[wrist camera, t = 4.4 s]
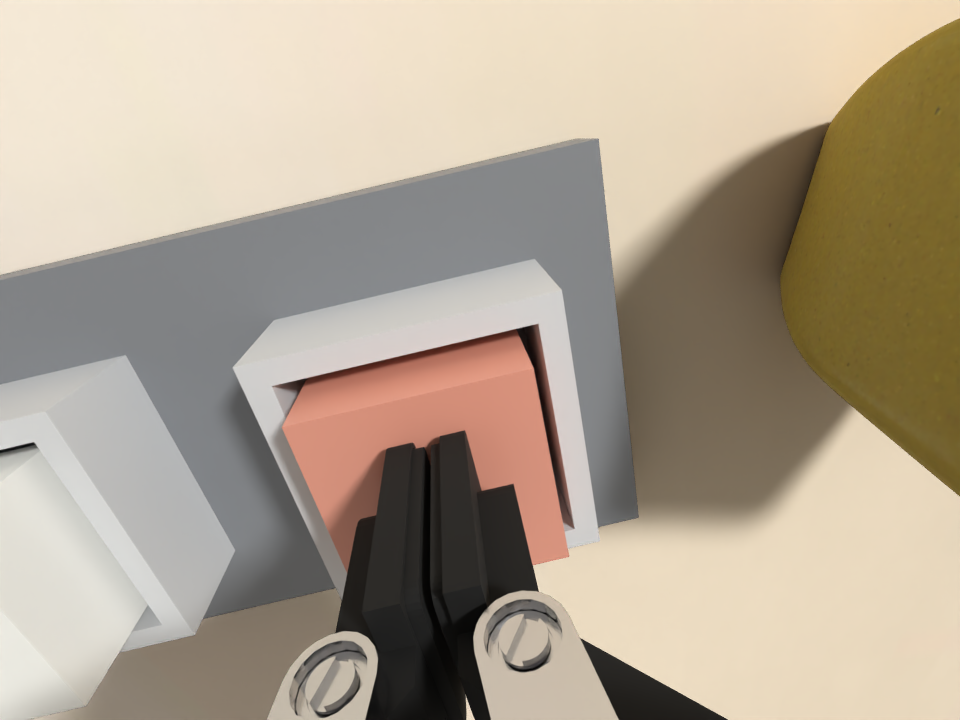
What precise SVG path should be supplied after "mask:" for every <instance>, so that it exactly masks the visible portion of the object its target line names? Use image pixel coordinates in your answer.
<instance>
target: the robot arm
mask: <svg viewBox="0 0 960 720" xmlns="http://www.w3.org/2000/svg"><path fill="white" fill-rule="evenodd" d="M465 694H466V696H465ZM466 697H467V700H468V702H469V705H470V708H471V711H472V713H473V716H474V718H475V720H728V719H726V718H724V717H722V716H720V715H718V714H717V713H715V712H713V711H711V710H709V709H708V708H706V707H704V706H702V705H700V704H699V703H697V702H695V701H693V700H691V699H689V698H688V697H686V696H684V695H682V694H680V693H679V692H677V691H675V690H673V689H671V688H670V687H668V686H666V685H664V684H662V683H661V682H659V681H657V680H655V679H653V678H651V677H650V676H648V675H646V674H644V673H642V672H641V671H639V670H637V669H635V668H633V667H632V666H630V665H628V664H626V663H624V662H622V661H621V660H619V659H617V658H615V657H613V656H612V655H610V654H608V653H606V652H604V651H603V650H601V649H599V648H597V647H595V646H594V645H592V644H590V643H588V642H586V641H584V640H583V639H581V638H580V637H579V635H578V633H577V631H576V629H575V626H574V624H573V622H572V620H571V618H570V616H569V614H568V613H567V612H566V610H565V609H564V607H563V606H562V604H560V603H559V602H558V601H556V600H555V599H554V598H552V597H551V596H549V595H546V594H543V593H540V592H539V591H538V586H537V582H536V578H535V573H534V569H533V565H532V561H531V556H530V552H529V548H528V543H527V539H526V535H525V531H524V526H523V522H522V518H521V513H520V509H519V505H518V501H517V496H516V492H515V488H514V484H510V485H505V486H501V487H497V488H492V489H488V490H484V491H482V490H481V487H480V483H479V479H478V475H477V472H476V468H475V464H474V461H473V457H472V453H471V449H470V446H469V442H468V438H467V434H466V432H465V430H464V431H459V432H455V433H451V434H447V435H442V436H440V437H439V443H438V444H434V445H431V465H430V462H429V459H428V455H427V452H426V450H425V448H424V447H421V448H416V447H415V445H414V443H413V442H412V443H408V444H403V445H399V446H395V447H390V448H387V449H386V454H385V460H384V467H383V474H382V480H381V487H380V493H379V500H378V507H377V513H376V515H375V516H371V517H367V518H362V519H360V520H359V521H358V524H357V527H356V531H355V536H354V541H353V547H352V552H351V557H350V562H349V567H348V572H347V577H346V582H345V587H344V592H343V597H342V602H341V607H340V613H339V618H338V623H337V628H336V633H334V634H330V635H328V636H326V637H324V638H322V639H320V640H318V641H316V642H315V643H314V644H312V645H311V646H310V647H309V648H307V649H306V650H305V651H303V652H302V653H301V655H300V656H299V657H298V658H297V659H296V660H295V662H294V663H293V664H292V665H291V667H290V668H289V670H288V672H287V674H286V676H285V677H284V679H283V681H282V683H281V686H280V688H279V691H278V693H277V696H276V698H275V701H274V703H273V705H272V708H271V710H270V713H269V715H268V718H267V720H466Z"/></svg>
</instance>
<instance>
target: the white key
mask: <svg viewBox="0 0 960 720" xmlns="http://www.w3.org/2000/svg"><path fill="white" fill-rule="evenodd" d="M147 606H148V604H147V602H146V601H145V600H144V598H143V597H142V595H141V594H140V592H139V591H138V590H137V588H136V587H135V585H134V584H133V582H132V581H131V580H130V578H129V577H128V575H127V574H126V572H125V571H124V570H123V568H122V567H121V565H120V564H119V562H118V561H117V560H116V558H115V557H114V555H113V554H112V552H111V551H110V550H109V548H108V547H107V545H106V544H105V542H104V541H103V540H102V538H101V537H100V535H99V534H98V533H97V531H96V530H95V528H94V527H93V525H92V524H91V523H90V521H89V520H88V518H87V517H86V515H85V514H84V513H83V511H82V510H81V508H80V507H79V505H78V504H77V503H76V501H75V500H74V498H73V497H72V495H71V494H70V493H69V491H68V490H67V488H66V487H65V485H64V484H63V483H62V481H61V480H60V478H59V477H58V475H57V474H56V473H55V471H54V470H53V468H52V467H51V465H50V464H49V463H48V461H47V460H46V458H45V457H44V455H43V454H42V453H41V451H40V450H39V448H38V447H37V446H36V445H33V446H29V447H25V448H21V449H16V450H12V451H8V452H3V453H0V720H29V719H34V718H38V717H42V716H47V715H51V714H55V713H60V712H64V711H68V710H73V709H77V708H81V707H85V706H87V704H88V703H89V701H90V699H91V698H92V696H93V694H94V693H95V691H96V689H97V688H98V686H99V684H100V683H101V681H102V680H103V678H104V676H105V675H106V673H107V671H108V670H109V668H110V666H111V665H112V663H113V661H114V660H115V658H116V657H117V655H118V653H119V652H120V650H121V648H122V647H123V645H124V643H125V642H126V640H127V638H128V637H129V635H130V634H131V632H132V630H133V629H134V627H135V625H136V624H137V622H138V620H139V619H140V617H141V615H142V614H143V612H144V610H145V609H146V607H147Z"/></svg>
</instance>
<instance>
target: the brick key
mask: <svg viewBox="0 0 960 720" xmlns="http://www.w3.org/2000/svg"><path fill="white" fill-rule="evenodd" d="M282 429H283V431H284V434H285V436H286V438H287V440H288V443H289V445H290V447H291V449H292V452H293V454H294V456H295V458H296V460H297V463H298V465H299V467H300V469H301V472H302V474H303V476H304V478H305V481H306V483H307V485H308V487H309V489H310V492H311V494H312V496H313V498H314V501H315V503H316V505H317V507H318V510H319V512H320V514H321V516H322V519H323V521H324V523H325V525H326V527H327V530H328V532H329V534H330V536H331V539H332V541H333V543H334V545H335V548H336V550H337V552H338V554H339V557H340V559H341V561H342V563H343V565H344V568H345V570H346V572H348V567H349V562H350V557H351V552H352V547H353V541H354V536H355V531H356V527H357V524H358V521H359V520H360V519H362V518H367V517H371V516H375V515H376V513H377V507H378V500H379V493H380V487H381V480H382V474H383V467H384V460H385V454H386V449H387V448H390V447H395V446H399V445H403V444H408V443H412V442H413V443H414V445H415V447H416V448H421V447H424V448H425V450H426V452H427V455H428V459H429V462H430V465H431V445H434V444H438V443H439V437H440V436H442V435H447V434H451V433H455V432H459V431H464V430H465V432H466V434H467V438H468V442H469V446H470V449H471V453H472V457H473V461H474V464H475V468H476V472H477V475H478V479H479V483H480V487H481V490H482V491H484V490H488V489H492V488H497V487H501V486H505V485H510V484H514V488H515V492H516V496H517V501H518V505H519V509H520V513H521V518H522V522H523V526H524V531H525V535H526V539H527V543H528V548H529V552H530V556H531V561H532V565H536V564H540V563H544V562H549V561H553V560H557V559H562V558H566V557H569V552H568V547H567V542H566V537H565V531H564V526H563V521H562V515H561V510H560V505H559V500H558V494H557V489H556V484H555V478H554V473H553V468H552V463H551V457H550V452H549V447H548V441H547V436H546V431H545V426H544V420H543V415H542V410H541V404H540V399H539V394H538V388H537V383H536V378H535V373H534V368H533V366H532V363H531V361H530V359H529V357H528V354H527V352H526V350H525V348H524V346H523V343H522V341H521V339H520V337H519V334H518V332H517V330H516V329H513V330H509V331H505V332H500V333H496V334H492V335H488V336H483V337H479V338H475V339H471V340H466V341H462V342H458V343H454V344H449V345H445V346H441V347H436V348H432V349H428V350H424V351H419V352H415V353H411V354H407V355H402V356H398V357H394V358H390V359H385V360H381V361H377V362H373V363H368V364H364V365H360V366H356V367H351V368H347V369H343V370H338V371H334V372H330V373H326V374H321V375H317V376H313V377H309V378H307V379H306V381H305V383H304V385H303V387H302V389H301V391H300V393H299V395H298V397H297V399H296V401H295V403H294V404H293V406H292V408H291V410H290V412H289V414H288V416H287V418H286V420H285V422H284V424H283V426H282Z"/></svg>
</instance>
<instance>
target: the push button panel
mask: <svg viewBox="0 0 960 720" xmlns="http://www.w3.org/2000/svg"><path fill="white" fill-rule="evenodd" d="M513 329H516V330H517V332H518V334H519V337H520V339H521V341H522V343H523V346H524V348H525V350H526V352H527V354H528V357H529V359H530V361H531V363H532V366H533V368H534V373H535V378H536V383H537V388H538V394H539V399H540V404H541V410H542V415H543V420H544V426H545V431H546V436H547V441H548V447H549V452H550V457H551V463H552V468H553V473H554V478H555V484H556V489H557V494H558V500H559V505H560V510H561V515H562V521H563V526H564V531H565V537H566V542H567V547H568V548H572V547H577V546H581V545H585V544H590V543H594V542H598V541H600V538H599V531H598V527H600V526H605V525H609V524H613V523H618V522H622V521H626V520H631V519H635V518H639V515H638V506H637V496H636V487H635V478H634V468H633V459H632V449H631V440H630V431H629V421H628V412H627V402H626V393H625V383H624V374H623V365H622V355H621V346H620V336H619V327H618V318H617V308H616V299H615V289H614V280H613V270H612V261H611V252H610V242H609V233H608V223H607V214H606V205H605V195H604V186H603V176H602V167H601V157H600V148H599V139H573V140H569V141H565V142H561V143H556V144H552V145H548V146H544V147H540V148H535V149H531V150H527V151H523V152H518V153H514V154H510V155H506V156H502V157H497V158H493V159H489V160H485V161H480V162H476V163H472V164H468V165H463V166H459V167H455V168H451V169H447V170H442V171H438V172H434V173H430V174H425V175H421V176H417V177H413V178H409V179H404V180H400V181H396V182H392V183H387V184H383V185H379V186H375V187H371V188H366V189H362V190H358V191H354V192H349V193H345V194H341V195H337V196H333V197H328V198H324V199H320V200H316V201H311V202H307V203H303V204H299V205H294V206H290V207H286V208H282V209H278V210H273V211H269V212H265V213H261V214H256V215H252V216H248V217H244V218H240V219H235V220H231V221H227V222H223V223H218V224H214V225H210V226H206V227H202V228H197V229H193V230H189V231H185V232H180V233H176V234H172V235H168V236H164V237H159V238H155V239H151V240H147V241H142V242H138V243H134V244H130V245H125V246H121V247H117V248H113V249H109V250H104V251H100V252H96V253H92V254H87V255H83V256H79V257H75V258H71V259H66V260H62V261H58V262H54V263H49V264H45V265H41V266H37V267H33V268H28V269H24V270H20V271H16V272H11V273H7V274H3V275H0V453H3V452H8V451H12V450H16V449H21V448H25V447H29V446H33V445H36V446H37V447H38V448H39V450H40V451H41V453H42V454H43V455H44V457H45V458H46V460H47V461H48V463H49V464H50V465H51V467H52V468H53V470H54V471H55V473H56V474H57V475H58V477H59V478H60V480H61V481H62V483H63V484H64V485H65V487H66V488H67V490H68V491H69V493H70V494H71V495H72V497H73V498H74V500H75V501H76V503H77V504H78V505H79V507H80V508H81V510H82V511H83V513H84V514H85V515H86V517H87V518H88V520H89V521H90V523H91V524H92V525H93V527H94V528H95V530H96V531H97V533H98V534H99V535H100V537H101V538H102V540H103V541H104V542H105V544H106V545H107V547H108V548H109V550H110V551H111V552H112V554H113V555H114V557H115V558H116V560H117V561H118V562H119V564H120V565H121V567H122V568H123V570H124V571H125V572H126V574H127V575H128V577H129V578H130V580H131V581H132V582H133V584H134V585H135V587H136V588H137V590H138V591H139V592H140V594H141V595H142V597H143V598H144V600H145V601H146V602H147V604H148V606H147V607H146V609H145V610H144V612H143V614H142V615H141V617H140V619H139V620H138V622H137V624H136V625H135V627H134V629H133V630H132V632H131V634H130V635H129V637H128V638H127V640H126V642H125V643H124V645H123V647H122V648H121V650H120V652H124V651H129V650H133V649H137V648H141V647H146V646H150V645H154V644H159V643H163V642H167V641H172V640H176V639H180V638H185V637H189V636H193V635H195V634H196V632H197V630H198V628H199V626H200V623H201V621H202V619H204V618H209V617H213V616H217V615H222V614H226V613H230V612H234V611H239V610H243V609H247V608H252V607H256V606H260V605H265V604H269V603H273V602H278V601H282V600H286V599H290V598H295V597H299V596H303V595H308V594H312V593H316V592H321V591H325V590H329V589H334V588H336V590H337V592H338V594H339V596H340V598H341V600H342V597H343V592H344V587H345V582H346V577H347V572H346V570H345V568H344V565H343V563H342V561H341V559H340V557H339V554H338V552H337V550H336V548H335V545H334V543H333V541H332V539H331V536H330V534H329V532H328V530H327V527H326V525H325V523H324V521H323V519H322V516H321V514H320V512H319V510H318V507H317V505H316V503H315V501H314V498H313V496H312V494H311V492H310V489H309V487H308V485H307V483H306V481H305V478H304V476H303V474H302V472H301V469H300V467H299V465H298V463H297V460H296V458H295V456H294V454H293V452H292V449H291V447H290V445H289V443H288V440H287V438H286V436H285V434H284V431H283V429H282V426H283V424H284V422H285V420H286V418H287V416H288V414H289V412H290V410H291V408H292V406H293V404H294V403H295V401H296V399H297V397H298V395H299V393H300V391H301V389H302V387H303V385H304V383H305V381H306V379H307V378H309V377H313V376H317V375H321V374H326V373H330V372H334V371H338V370H343V369H347V368H351V367H356V366H360V365H364V364H368V363H373V362H377V361H381V360H385V359H390V358H394V357H398V356H402V355H407V354H411V353H415V352H419V351H424V350H428V349H432V348H436V347H441V346H445V345H449V344H454V343H458V342H462V341H466V340H471V339H475V338H479V337H483V336H488V335H492V334H496V333H500V332H505V331H509V330H513ZM120 652H119V653H120Z"/></svg>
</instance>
